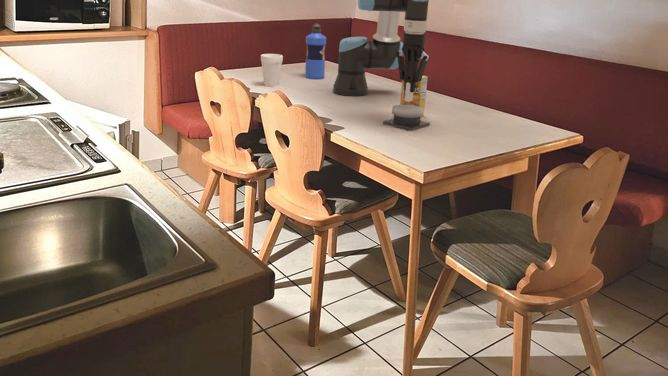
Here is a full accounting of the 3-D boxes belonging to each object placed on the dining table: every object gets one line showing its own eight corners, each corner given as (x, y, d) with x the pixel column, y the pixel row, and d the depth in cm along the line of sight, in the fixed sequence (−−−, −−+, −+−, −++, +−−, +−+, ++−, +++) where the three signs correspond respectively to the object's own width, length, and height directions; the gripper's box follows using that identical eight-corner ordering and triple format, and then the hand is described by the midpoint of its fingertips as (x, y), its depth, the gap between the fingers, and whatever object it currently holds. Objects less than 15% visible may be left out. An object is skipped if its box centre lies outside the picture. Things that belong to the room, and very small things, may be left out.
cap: (385, 120, 231) (386, 107, 229) (402, 115, 239) (403, 103, 237) (411, 126, 224) (412, 113, 223) (428, 121, 232) (429, 108, 231)
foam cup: (270, 82, 293) (271, 53, 288) (286, 85, 288) (287, 55, 283) (256, 84, 285) (256, 55, 281) (272, 88, 280) (272, 58, 276)
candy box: (398, 113, 247) (402, 73, 242) (405, 111, 250) (408, 72, 245) (418, 118, 242) (422, 77, 237) (424, 116, 245) (428, 76, 240)
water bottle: (303, 78, 304) (304, 24, 295) (307, 75, 313) (308, 22, 304) (322, 80, 303) (324, 25, 294) (326, 76, 311) (328, 23, 303)
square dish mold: (383, 124, 231) (383, 113, 230) (401, 118, 240) (402, 108, 238) (411, 131, 224) (412, 119, 223) (429, 125, 233) (430, 114, 231)
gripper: (392, 31, 222) (387, 99, 230) (424, 35, 214) (418, 105, 222) (404, 30, 227) (399, 96, 235) (436, 34, 220) (429, 102, 228)
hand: (408, 100), depth 229 cm, fingers closed
